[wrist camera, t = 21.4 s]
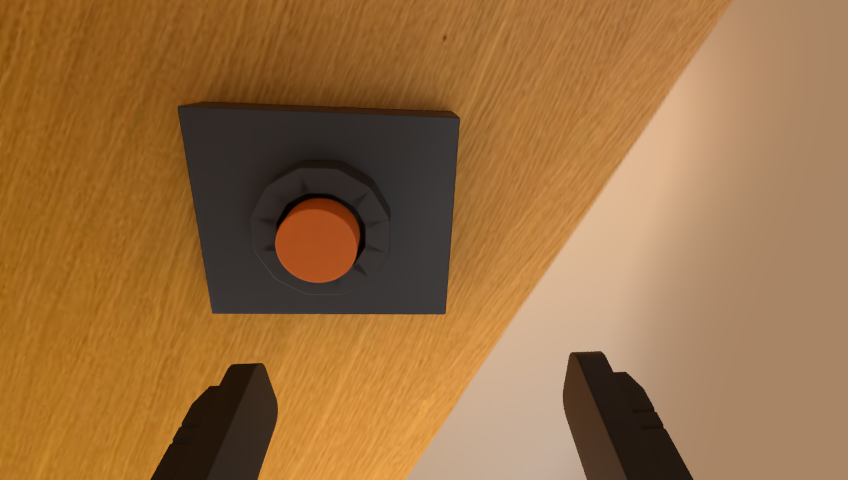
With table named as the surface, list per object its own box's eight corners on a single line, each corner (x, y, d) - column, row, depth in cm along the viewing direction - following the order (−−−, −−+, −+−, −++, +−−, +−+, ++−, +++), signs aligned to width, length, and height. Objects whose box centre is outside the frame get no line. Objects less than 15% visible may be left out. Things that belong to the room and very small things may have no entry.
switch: (359, 198, 20) (356, 209, 18) (360, 267, 21) (357, 283, 20) (281, 196, 20) (271, 208, 18) (287, 266, 21) (278, 283, 19)
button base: (452, 111, 23) (465, 121, 19) (440, 291, 27) (449, 333, 23) (201, 101, 22) (155, 109, 18) (229, 290, 26) (197, 333, 22)
